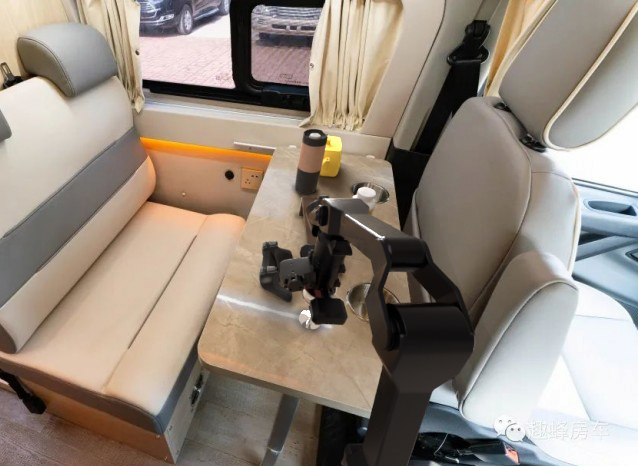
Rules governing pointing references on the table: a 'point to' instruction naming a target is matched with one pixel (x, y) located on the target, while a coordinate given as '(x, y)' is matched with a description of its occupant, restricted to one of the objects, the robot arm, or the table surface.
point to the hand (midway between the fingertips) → (313, 305)
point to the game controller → (274, 270)
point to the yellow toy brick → (331, 157)
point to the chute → (302, 212)
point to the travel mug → (310, 160)
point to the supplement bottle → (367, 197)
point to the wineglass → (307, 296)
